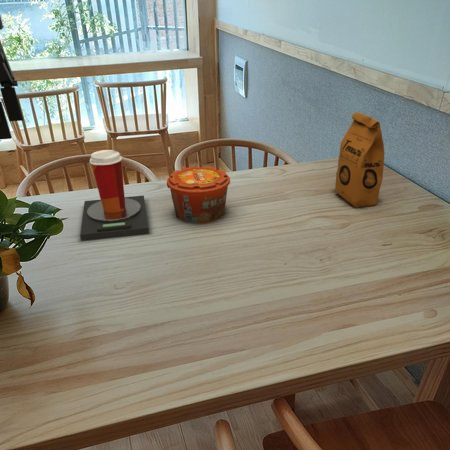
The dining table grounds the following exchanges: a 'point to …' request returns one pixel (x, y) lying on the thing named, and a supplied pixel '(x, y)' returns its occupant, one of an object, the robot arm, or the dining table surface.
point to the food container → (199, 193)
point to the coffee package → (361, 162)
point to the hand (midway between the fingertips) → (10, 129)
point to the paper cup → (109, 179)
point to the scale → (114, 220)
